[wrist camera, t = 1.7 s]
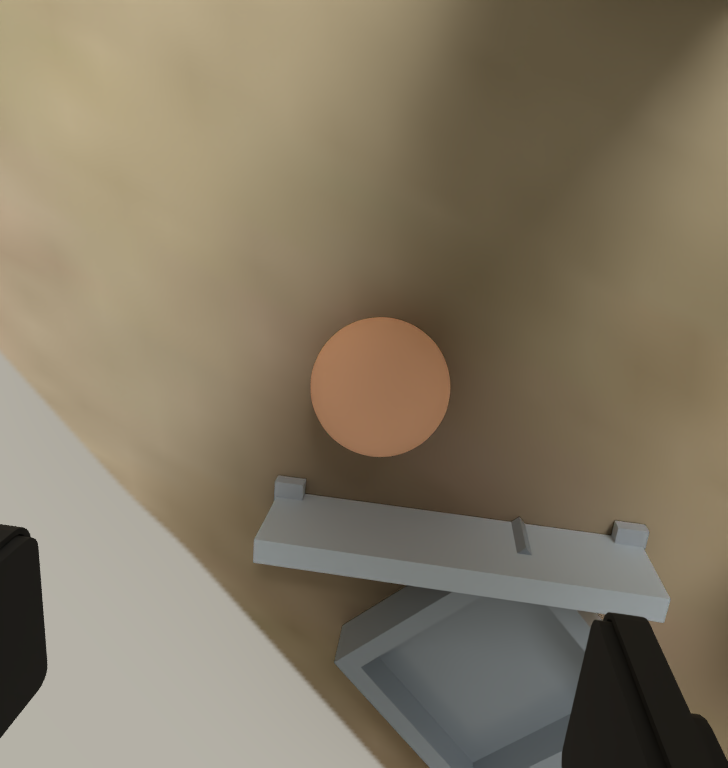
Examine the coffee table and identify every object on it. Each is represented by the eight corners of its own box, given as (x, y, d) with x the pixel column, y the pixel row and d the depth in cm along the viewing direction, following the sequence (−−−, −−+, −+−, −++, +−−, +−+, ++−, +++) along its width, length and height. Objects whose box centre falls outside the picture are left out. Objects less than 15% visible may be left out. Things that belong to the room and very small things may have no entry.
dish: (342, 625, 30) (333, 662, 28) (519, 516, 27) (526, 547, 25) (468, 766, 31) (470, 812, 29) (647, 676, 29) (664, 719, 26)
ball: (328, 298, 25) (301, 326, 21) (458, 312, 25) (460, 344, 20) (319, 418, 27) (292, 470, 22) (441, 434, 26) (440, 490, 22)
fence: (278, 475, 28) (252, 522, 24) (644, 524, 27) (678, 582, 23) (275, 524, 29) (249, 578, 25) (632, 575, 27) (662, 639, 24)
